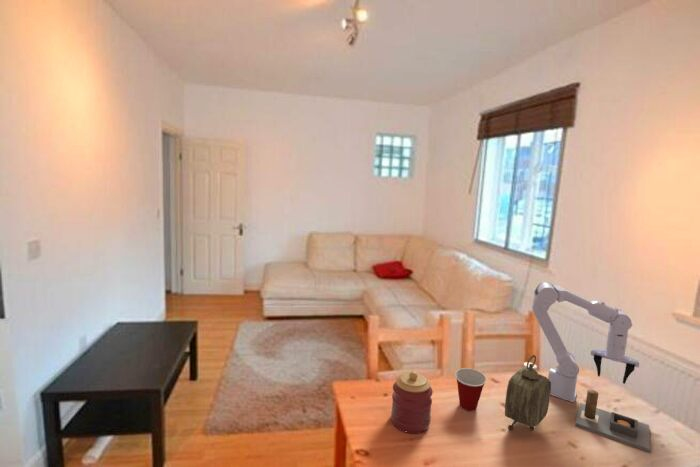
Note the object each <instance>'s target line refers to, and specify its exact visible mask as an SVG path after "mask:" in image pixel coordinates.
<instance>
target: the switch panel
mask: <svg viewBox="0 0 700 467" xmlns="http://www.w3.org/2000/svg"><path fill="white" fill-rule="evenodd" d="M579 403H580V404H579V408H578V411H577V415H576V418H575V422H574V426H576V427H578V428H581V429H583V430H586V431H589V432H592V433H595V434H598V435H601V436H604V437H606V438H609V439H612V440H615V441H618V442H620V443H623V444H625V445H628V446H631V447H634V448H637V449H639V450H643V451H644V452H647V453H650V452H651V438H650V437H651V436H650V434H651V432H650V424H648V423H647V424H646V423H643V422H642V421H641V422H640V421H639V420H637V419H635V418H632V417H629V416H625V415H623V414H620V413H616V412H614V411H611V412H610V411H607V410H604V409H601V408H599V407H597V408H596V415H595V419H589V418H587V417H585V416H584V412H585V405H586V403H583V402H579ZM618 420H623V421H626V422H628V423H629V424H630V425H631V426H630V427H627V426H624V425H621V424H618V423H617V421H618Z"/></svg>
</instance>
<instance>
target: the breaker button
mask: <svg viewBox="0 0 700 467" xmlns="http://www.w3.org/2000/svg"><path fill="white" fill-rule="evenodd" d="M617 423H618V424H621V425H624V426H627V427H630V426H631V425H630V424H629V423H628V422H626V421H623V420H618V421H617Z"/></svg>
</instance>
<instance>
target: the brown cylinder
mask: <svg viewBox="0 0 700 467" xmlns="http://www.w3.org/2000/svg"><path fill="white" fill-rule="evenodd" d="M598 398H599V392H598V391H596V390H593V389H587V392H586V399H585V404H586V405H585V412H584V416H585V417H587V418H589V419H595V415H596V408H598Z"/></svg>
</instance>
